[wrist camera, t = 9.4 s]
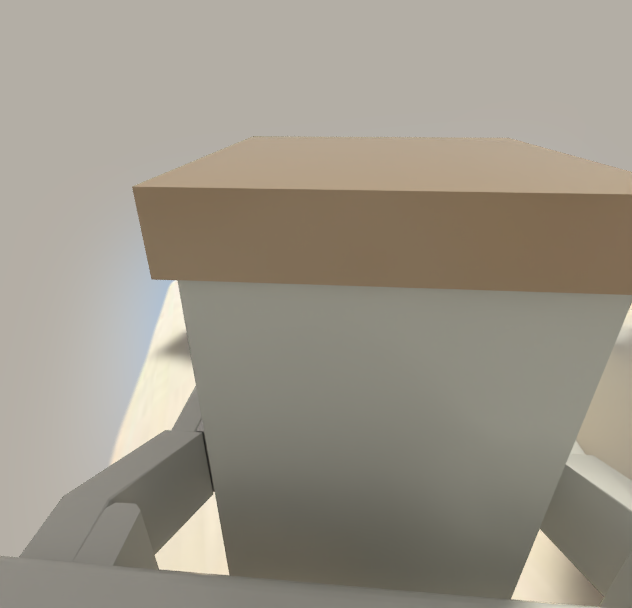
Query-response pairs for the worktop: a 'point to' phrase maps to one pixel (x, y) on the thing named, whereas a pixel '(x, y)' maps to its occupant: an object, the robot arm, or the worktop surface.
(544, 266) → the grey canister
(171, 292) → the worktop surface
